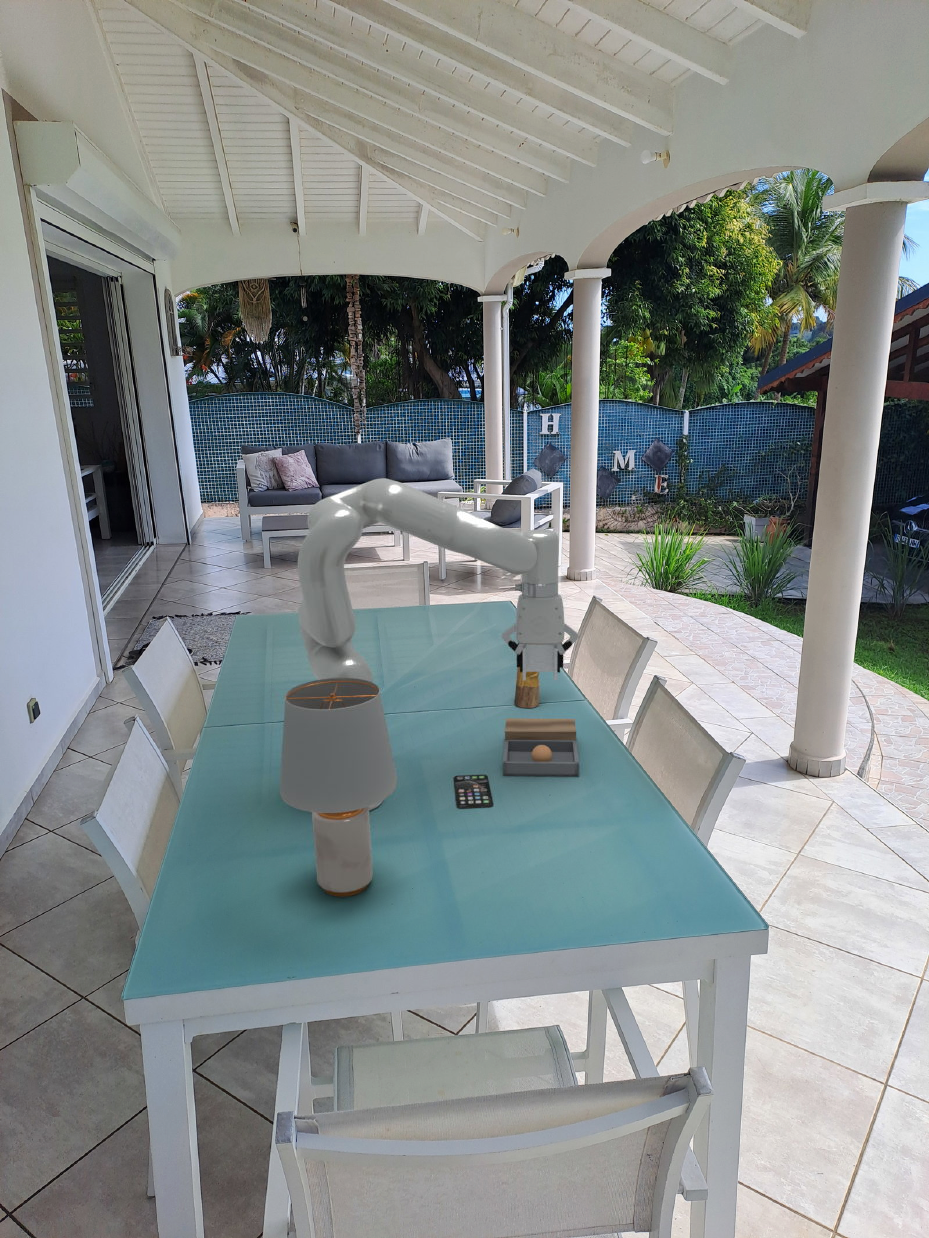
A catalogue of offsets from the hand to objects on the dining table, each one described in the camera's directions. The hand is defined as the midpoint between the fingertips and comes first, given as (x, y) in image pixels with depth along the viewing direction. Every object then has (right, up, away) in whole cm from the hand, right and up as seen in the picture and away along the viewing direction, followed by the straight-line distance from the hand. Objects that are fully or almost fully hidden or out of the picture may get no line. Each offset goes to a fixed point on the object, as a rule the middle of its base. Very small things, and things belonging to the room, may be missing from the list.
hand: (539, 670), depth 185 cm
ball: (+1, -19, +3) cm, 19 cm away
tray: (+1, -21, +5) cm, 22 cm away
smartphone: (-14, -25, -7) cm, 30 cm away
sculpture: (+2, -12, +41) cm, 43 cm away
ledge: (+1, -18, +15) cm, 24 cm away
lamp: (-36, -34, -39) cm, 63 cm away
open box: (0, -1, 0) cm, 1 cm away
